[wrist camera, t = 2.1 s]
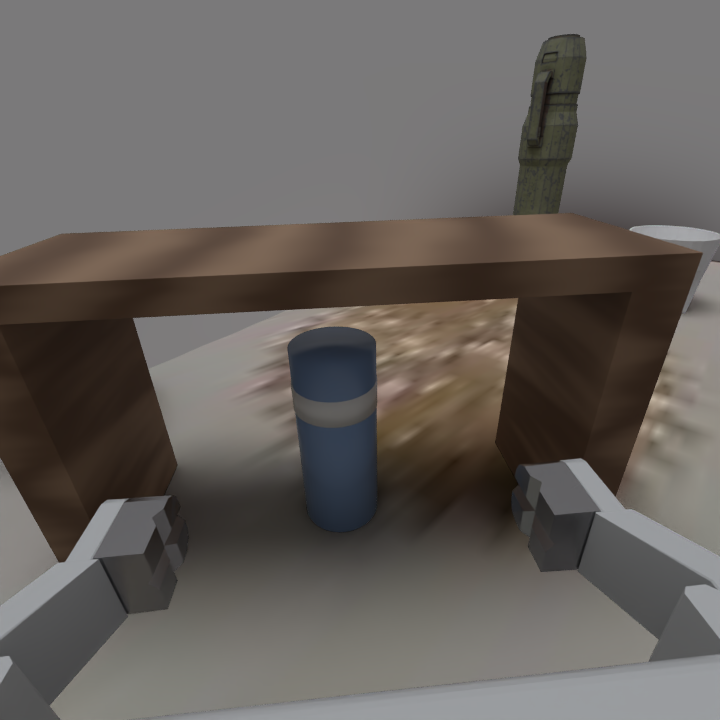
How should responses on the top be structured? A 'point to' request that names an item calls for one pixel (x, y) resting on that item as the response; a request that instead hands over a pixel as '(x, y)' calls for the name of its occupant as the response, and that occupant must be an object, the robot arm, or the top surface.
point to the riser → (322, 290)
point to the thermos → (550, 125)
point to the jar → (336, 424)
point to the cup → (689, 239)
